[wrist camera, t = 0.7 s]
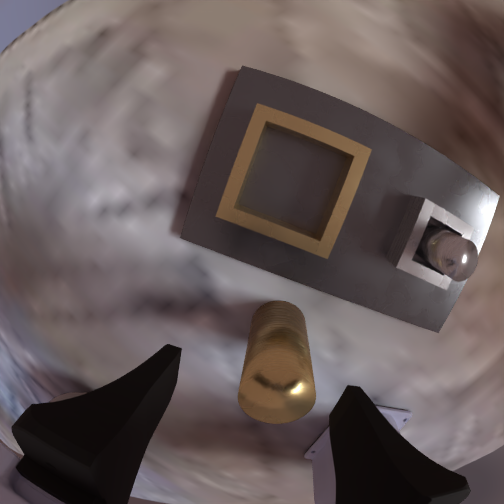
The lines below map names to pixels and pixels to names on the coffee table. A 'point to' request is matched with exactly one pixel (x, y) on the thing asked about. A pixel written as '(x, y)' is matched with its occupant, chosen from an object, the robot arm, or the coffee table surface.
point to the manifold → (338, 201)
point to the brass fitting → (277, 366)
